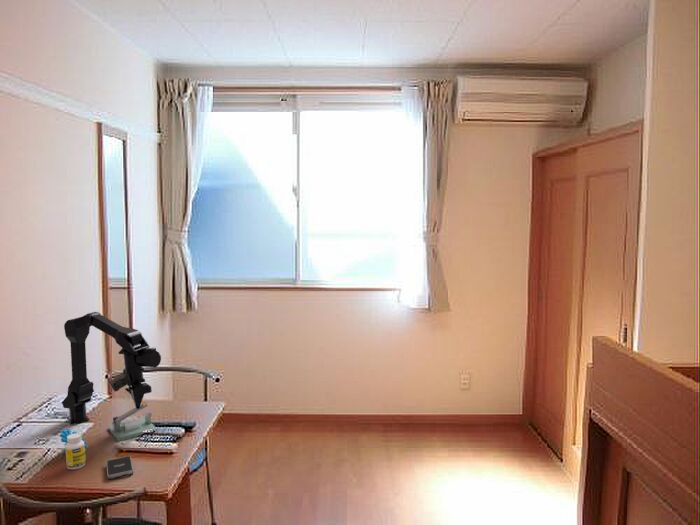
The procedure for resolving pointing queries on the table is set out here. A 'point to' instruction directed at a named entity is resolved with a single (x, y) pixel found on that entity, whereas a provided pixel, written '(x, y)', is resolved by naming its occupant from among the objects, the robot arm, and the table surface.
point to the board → (132, 433)
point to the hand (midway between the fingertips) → (137, 407)
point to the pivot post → (116, 424)
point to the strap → (132, 411)
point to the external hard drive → (119, 468)
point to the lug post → (148, 418)
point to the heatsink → (130, 423)
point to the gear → (65, 434)
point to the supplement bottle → (75, 451)
